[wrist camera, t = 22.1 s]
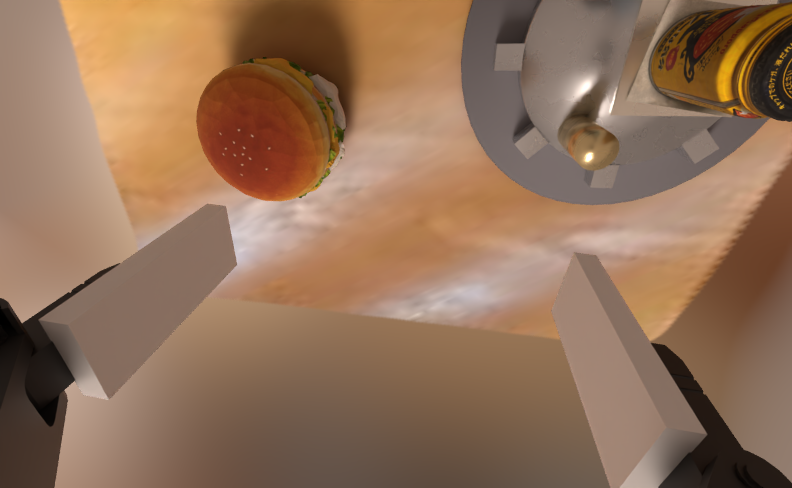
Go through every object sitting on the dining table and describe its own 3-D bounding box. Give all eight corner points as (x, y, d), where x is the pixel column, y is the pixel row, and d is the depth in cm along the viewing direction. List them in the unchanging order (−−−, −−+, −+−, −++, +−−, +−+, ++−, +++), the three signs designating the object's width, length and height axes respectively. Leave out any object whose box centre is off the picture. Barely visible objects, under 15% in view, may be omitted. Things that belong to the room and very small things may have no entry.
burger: (208, 101, 39) (139, 120, 31) (298, 21, 34) (245, 17, 26) (288, 200, 44) (247, 240, 36) (377, 143, 39) (355, 174, 30)
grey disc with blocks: (446, 104, 35) (443, 121, 28) (634, -208, 23) (707, -307, 16) (625, 217, 38) (662, 258, 31) (868, -10, 26) (1011, -25, 20)
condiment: (670, -5, 26) (805, -28, 16) (790, 12, 26) (1008, 0, 16) (624, 100, 30) (710, 134, 20) (728, 116, 30) (871, 161, 19)
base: (495, -185, 26) (501, -214, 23) (936, -173, 23) (1008, -204, 20) (442, 184, 40) (440, 196, 37) (709, 216, 38) (731, 232, 35)
